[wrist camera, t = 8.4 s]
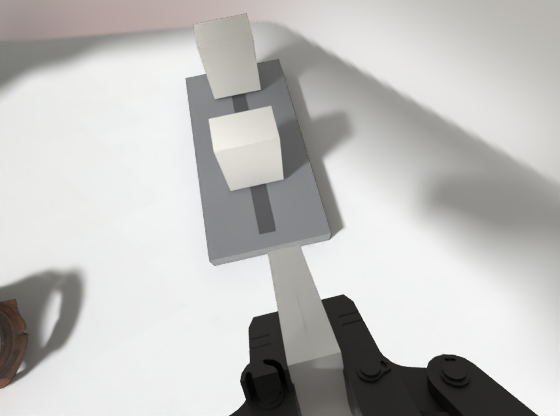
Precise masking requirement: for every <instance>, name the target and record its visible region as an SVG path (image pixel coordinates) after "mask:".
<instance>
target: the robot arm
mask: <svg viewBox="0 0 560 416" xmlns="http://www.w3.org/2000/svg"><path fill="white" fill-rule="evenodd" d="M268 256H269V262H270V268H271V273H272V279H273V285H274V291H275V296H276V302H277V308H278V311H277V312H273V313H269V314H265V315H261V316H257V317H254V318H253V320H252V322H251V324H250V326H249V349H250V350H249V352H250V363H249V364H248V365H247V366H246V368H245V369H244V371H243V372H242V375H241V379H240V383H241V386H242V389H243V392H244V395H245V398H246V401H245V402H244V404H243V405H242V406H241V407H240V408H239V409H238V410H237V411H235V412H234V413H233V414H231V415H229V416H538V415H537V414H535V413H534V412H533V411H532V410H530V409H529V408H528V407H527V406H525V405H524V404H523V403H522V402H520V401H519V400H518V399H517V398H515V397H514V396H513V395H512V394H511V393H509V392H508V391H507V390H506V389H504V388H503V387H502V386H501V385H499V384H498V383H497V382H496V381H494V380H493V379H492V378H491V377H489V376H488V375H487V374H486V373H485V372H483V371H482V370H481V369H480V368H478V367H477V366H476V365H475V364H473V363H472V362H470V361H468V360H467V359H465V358H463V357H459V356H456V355H447V354H443V355H440V356H436V357H434V358H433V359H432V360H431V361H429V363H428V366H427V368H418V367H405V366H400V365H397V364H395V363H393V362H391V361H389V359H387V358H386V357H384V356H383V355H382V353H381V352H380V350H379V349H378V347H377V345H376V343H375V341H374V339H373V337H372V335H371V334H370V332H369V330H368V328H367V326H366V324H365V322H364V321H363V319H362V317H361V315H360V313H359V312H358V309H357V308H356V306H355V304H354V302H353V301H352V300H351V299H349V298H348V297H346V296H345V295H344V294H343V295H339V296H335V297H331V298H327V299H323V300H321V299H320V296H319V294H318V291H317V289H316V286H315V284H314V281H313V278H312V276H311V273H310V271H309V268H308V265H307V263H306V260H305V258H304V255H303V253H302V250H301V247H300V245H295V246H291V247H287V248H282V249H278V250H274V251H270V252H268Z"/></svg>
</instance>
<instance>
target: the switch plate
mask: <svg viewBox="0 0 560 416" xmlns="http://www.w3.org/2000/svg"><path fill="white" fill-rule="evenodd" d="M257 68H258V74H259V81H260V88H261V90H257V91H252V92H247V93H242V94H238V95H233V96H228V97H223V98H219V99H214V96H213V93H212V90H211V87H210V84H209V81H208V78H207V75H206V74H204V75H199V76H194V77H189V78H186V86H187V94H188V101H189V109H190V117H191V124H192V132H193V140H194V147H195V155H196V163H197V171H198V178H199V186H200V194H201V201H202V209H203V217H204V224H205V232H206V240H207V248H208V255H209V261H210V262H211V263H212V264H213V265H214V266H216V265H221V264H225V263H229V262H234V261H238V260H243V259H247V258H251V257H256V256H260V255H265V254H268V252H270V251H274V250H278V249H282V248H287V247H291V246H295V245H300V246H304V245H309V244H313V243H317V242H322V241H326V240H329V239H330V235H331V231H330V228H329V225H328V221H327V218H326V215H325V211H324V208H323V205H322V201H321V198H320V195H319V191H318V188H317V185H316V181H315V178H314V175H313V171H312V168H311V165H310V161H309V158H308V155H307V151H306V148H305V145H304V141H303V138H302V135H301V131H300V128H299V125H298V121H297V118H296V115H295V112H294V108H293V105H292V102H291V98H290V95H289V92H288V88H287V85H286V82H285V78H284V75H283V72H282V68H281V65H280V62H279V59H277V60H272V61H267V62H262V63H257ZM268 106H271V107H272V111H273V114H274V118H275V122H276V126H277V130H278V133H279V137H280V147H281V157H282V168H283V178H284V179H283V180H279V181H274V182H269V183H265V184H260V185H256V186H251V187H247V188H242V189H238V190H233V191H230V188H229V186H228V184H227V181H226V179H225V177H224V174H223V172H222V170H221V168H220V165H219V163H218V161H217V158H216V156H215V154H214V151H213V144H212V138H211V132H210V125H209V119H211V118H215V117H220V116H225V115H230V114H234V113H239V112H244V111H249V110H253V109H258V108H263V107H268Z"/></svg>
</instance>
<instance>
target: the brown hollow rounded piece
mask: <svg viewBox="0 0 560 416" xmlns="http://www.w3.org/2000/svg"><path fill="white" fill-rule="evenodd" d="M25 329H26V324H25V322H24V320H23V318H22V317H21V315H20V314H19V312H18V309H17V303H16V300H15V299H13V300H8V301H3V302H0V334H1V347H0V389H1V388H3V387H4V386H6V385H7V384H8V383H10V381H11V380H12V379H11V378H12V377H14V376H15V374H16V373H17V371H18V369H19V367H20V365H21V362H22V360H23V357H24V355H25V351H26V348H27V342H28V334H27V333H24V331H25Z"/></svg>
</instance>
